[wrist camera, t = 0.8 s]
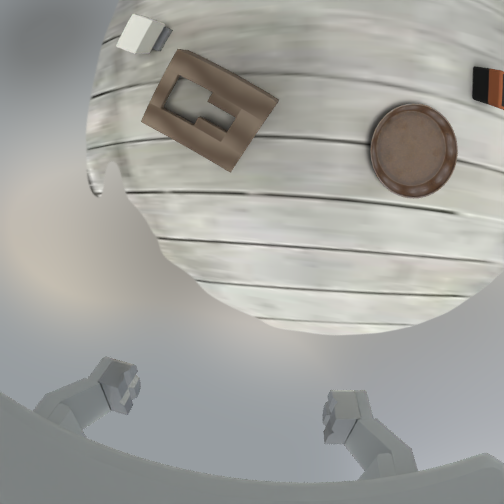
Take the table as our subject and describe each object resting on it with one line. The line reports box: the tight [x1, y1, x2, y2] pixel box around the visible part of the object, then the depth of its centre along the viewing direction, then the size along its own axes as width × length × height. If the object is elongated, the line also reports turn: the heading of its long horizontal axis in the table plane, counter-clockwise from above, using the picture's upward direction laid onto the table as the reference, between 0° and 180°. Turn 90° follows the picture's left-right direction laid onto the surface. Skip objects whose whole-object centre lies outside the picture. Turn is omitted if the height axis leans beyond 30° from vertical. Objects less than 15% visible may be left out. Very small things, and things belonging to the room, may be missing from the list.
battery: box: [473, 67, 504, 110], centre depth 30 cm, size 4×7×10 cm, turn 4°
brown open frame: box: [141, 49, 278, 173], centre depth 44 cm, size 14×18×5 cm
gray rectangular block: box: [116, 14, 172, 54], centre depth 35 cm, size 6×4×8 cm
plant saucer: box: [370, 103, 458, 198], centre depth 44 cm, size 18×18×3 cm
